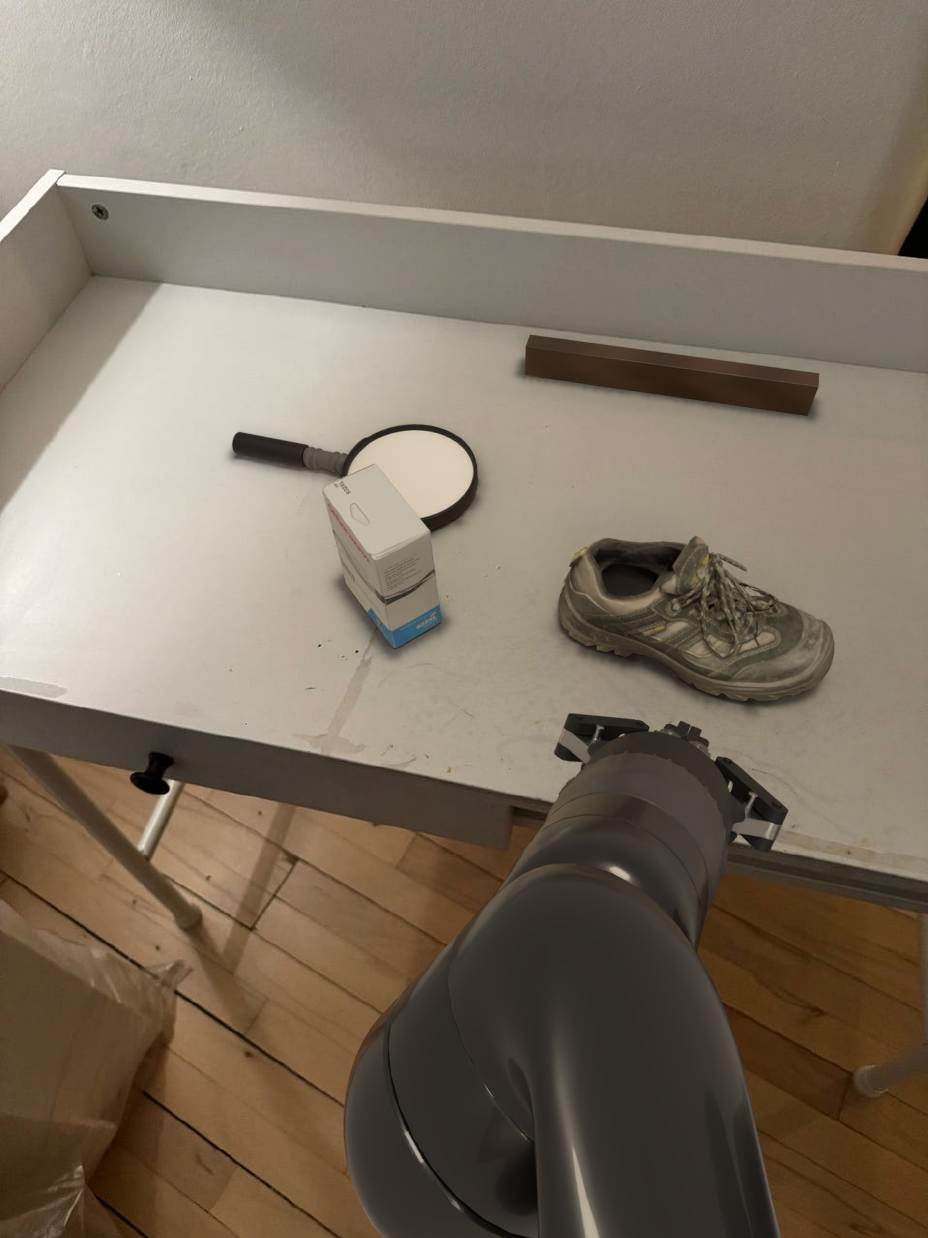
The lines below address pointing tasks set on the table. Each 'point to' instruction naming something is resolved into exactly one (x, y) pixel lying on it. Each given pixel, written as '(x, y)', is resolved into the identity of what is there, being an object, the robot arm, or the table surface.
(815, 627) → the hiking shoe
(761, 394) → the brown rectangular bar
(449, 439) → the magnifying glass
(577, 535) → the table surface
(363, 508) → the ink box
